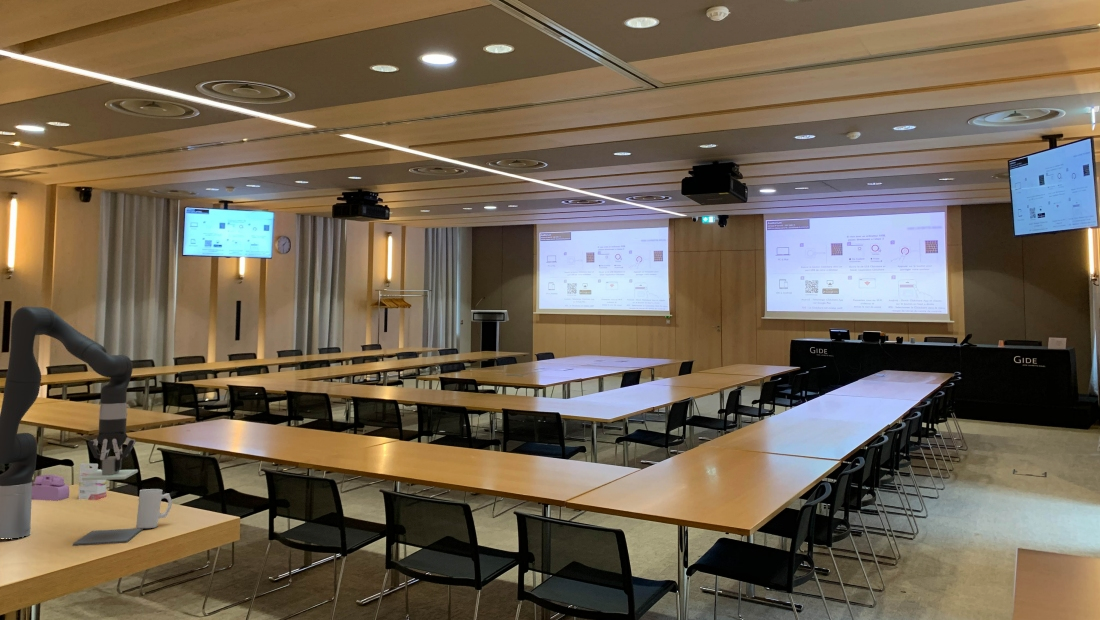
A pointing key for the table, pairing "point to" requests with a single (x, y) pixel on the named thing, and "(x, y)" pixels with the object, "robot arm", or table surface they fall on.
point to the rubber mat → (108, 536)
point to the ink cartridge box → (91, 483)
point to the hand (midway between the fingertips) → (111, 470)
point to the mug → (151, 508)
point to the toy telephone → (50, 488)
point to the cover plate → (109, 477)
